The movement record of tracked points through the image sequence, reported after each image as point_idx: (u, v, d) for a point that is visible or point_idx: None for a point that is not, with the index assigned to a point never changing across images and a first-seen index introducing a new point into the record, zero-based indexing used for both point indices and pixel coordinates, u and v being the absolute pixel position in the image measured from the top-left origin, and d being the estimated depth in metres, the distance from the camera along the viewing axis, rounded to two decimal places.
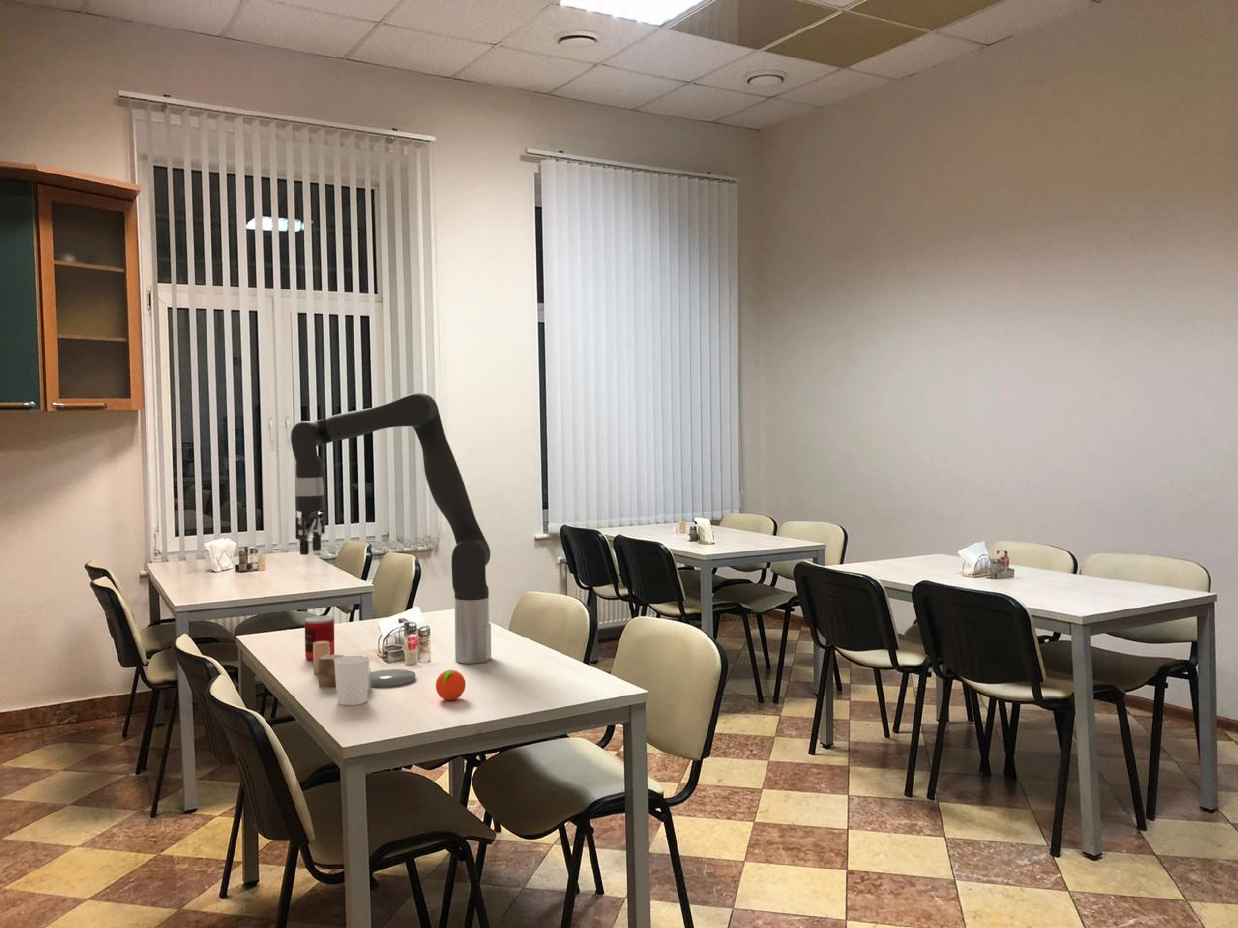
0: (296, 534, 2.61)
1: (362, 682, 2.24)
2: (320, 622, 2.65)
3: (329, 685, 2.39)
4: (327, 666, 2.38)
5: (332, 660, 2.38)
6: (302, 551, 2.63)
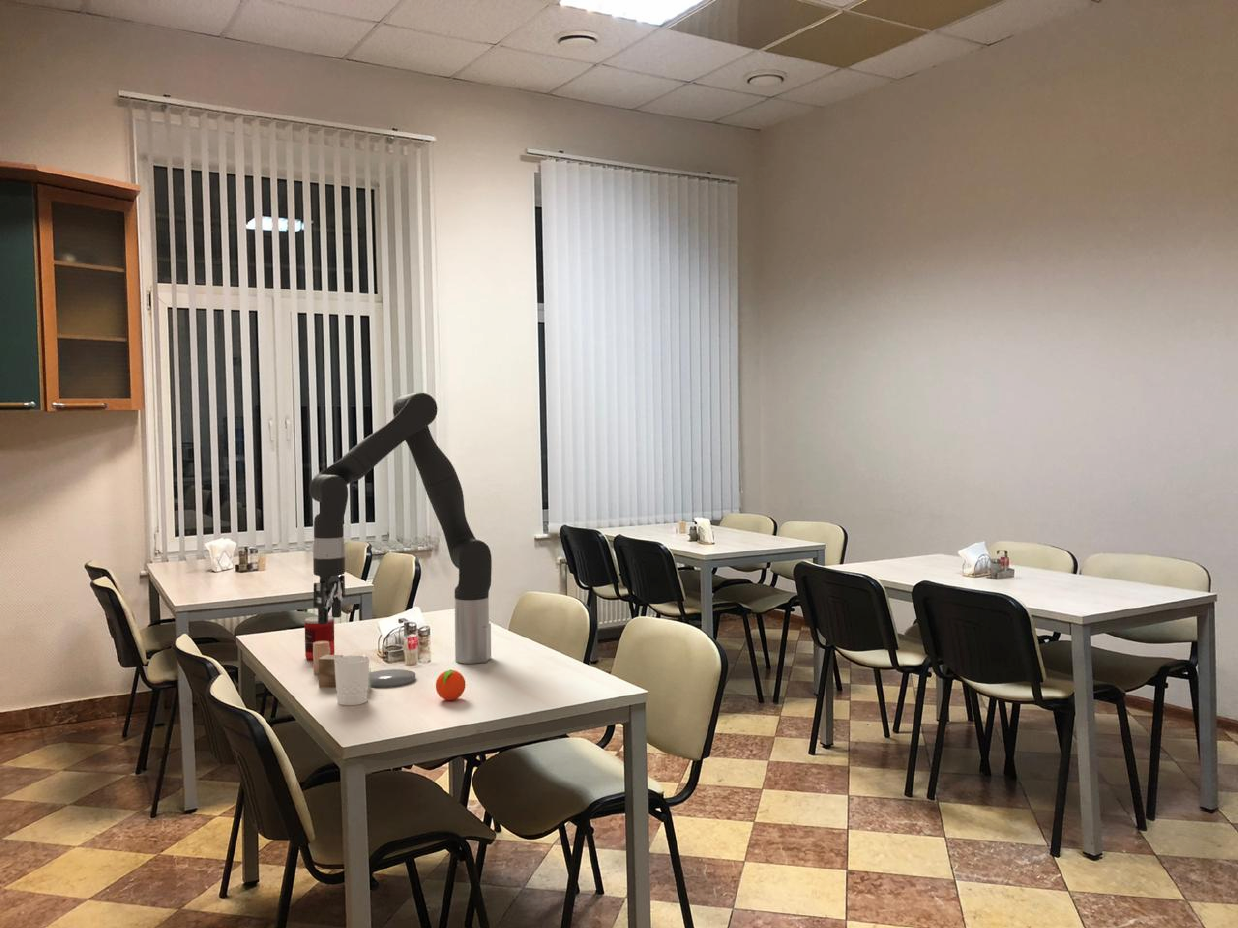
0: (314, 602, 2.33)
1: (362, 682, 2.24)
2: None
3: (329, 685, 2.39)
4: (327, 666, 2.38)
5: (332, 660, 2.38)
6: (321, 620, 2.35)
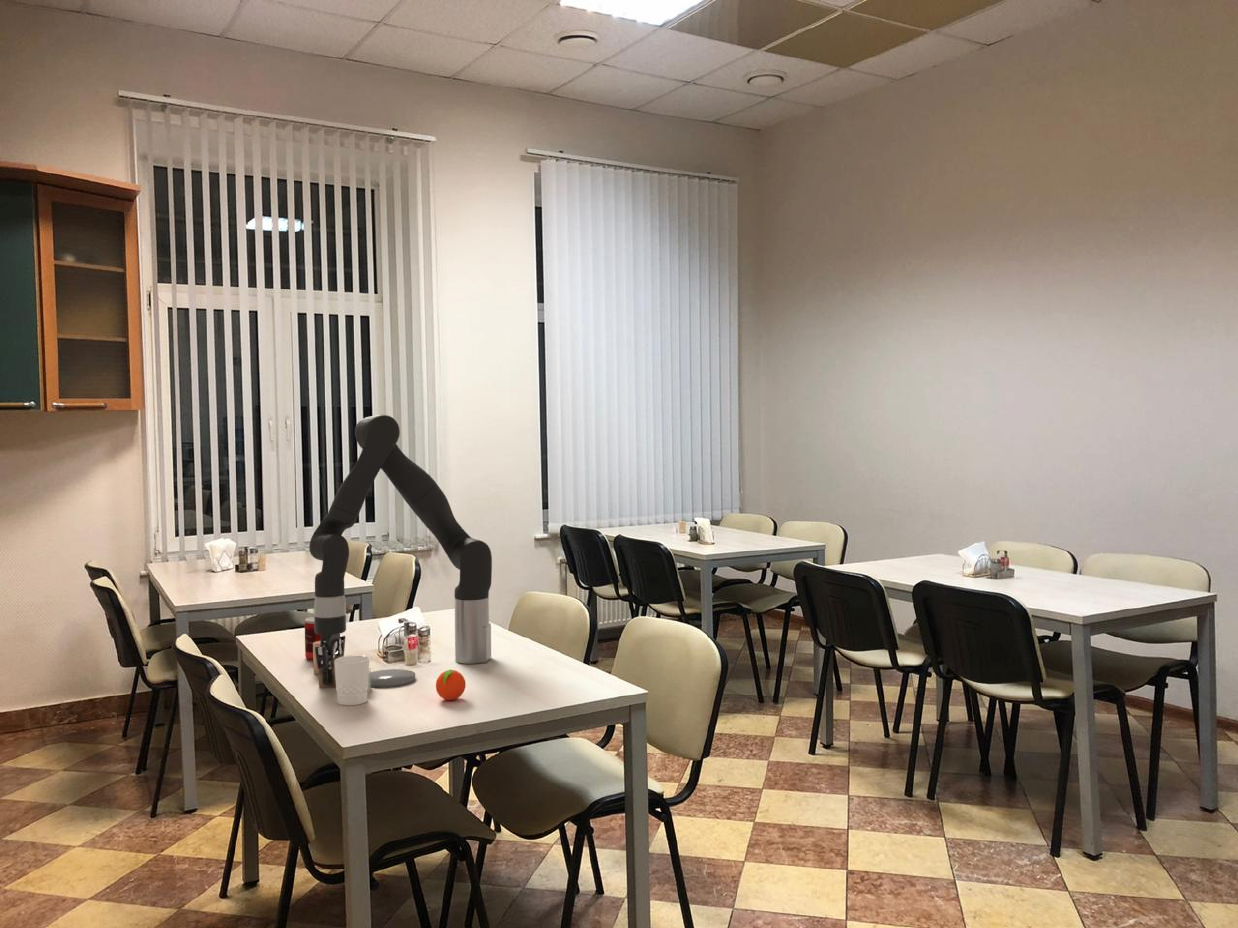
0: (318, 664, 2.35)
1: (362, 682, 2.24)
2: None
3: (329, 685, 2.39)
4: None
5: (332, 660, 2.38)
6: (325, 681, 2.37)
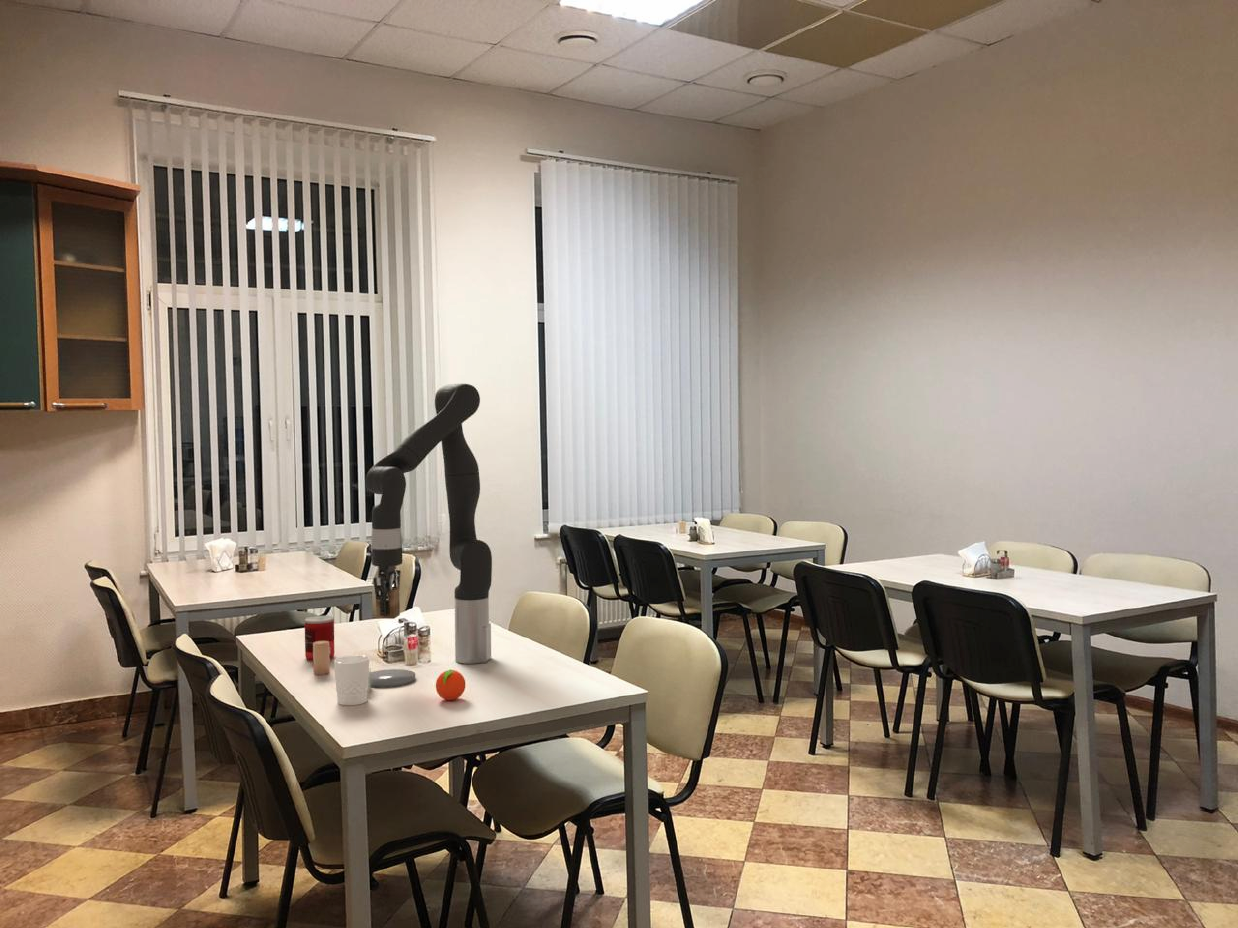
0: (376, 595, 2.39)
1: (362, 682, 2.24)
2: (320, 622, 2.65)
3: (386, 616, 2.42)
4: None
5: None
6: (383, 612, 2.41)
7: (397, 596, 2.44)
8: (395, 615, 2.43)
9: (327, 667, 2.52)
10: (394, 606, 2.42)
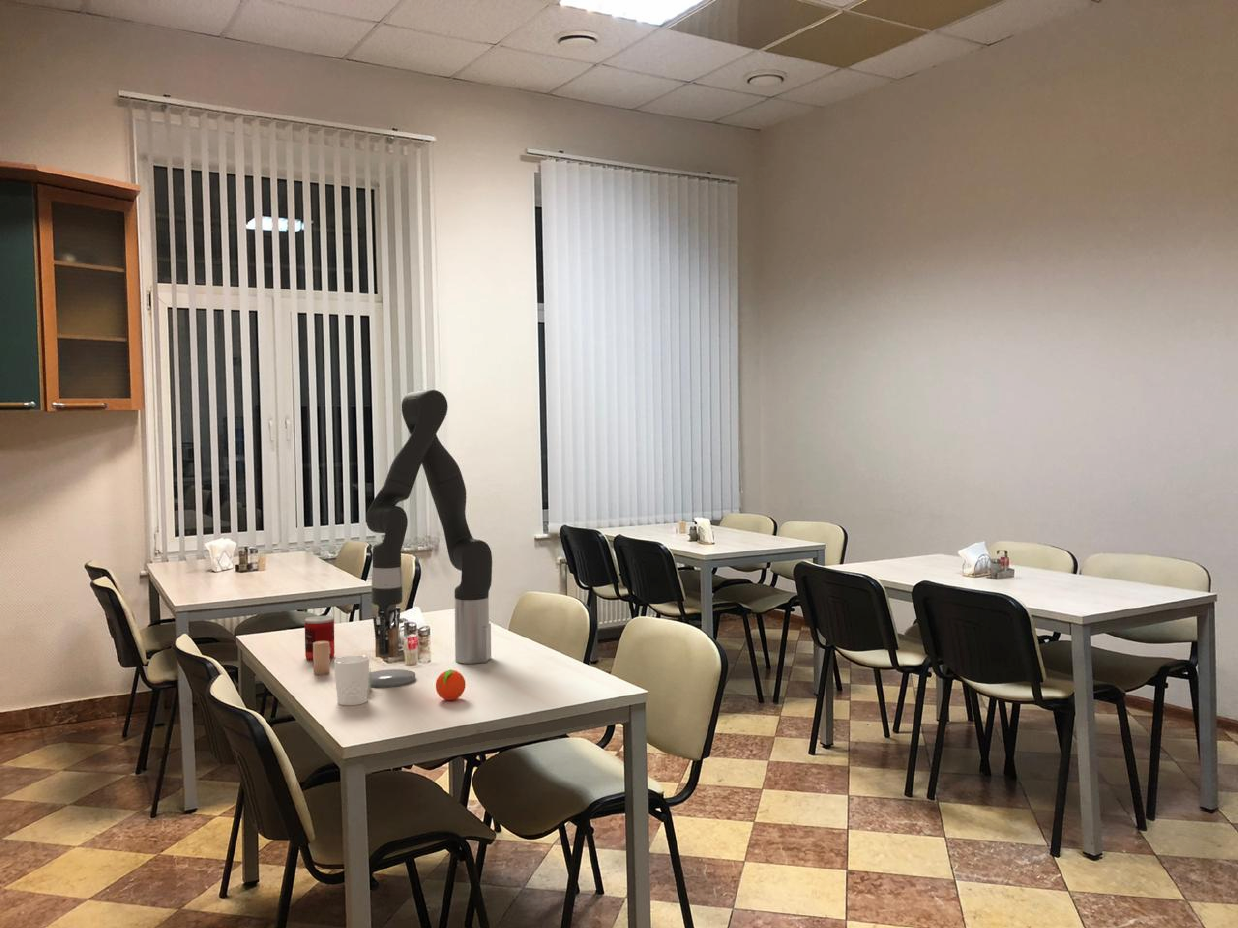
0: (376, 634, 2.39)
1: (362, 682, 2.24)
2: (320, 622, 2.65)
3: (385, 655, 2.42)
4: None
5: None
6: (382, 651, 2.41)
7: (396, 635, 2.45)
8: (394, 654, 2.43)
9: (327, 667, 2.52)
10: (393, 645, 2.42)
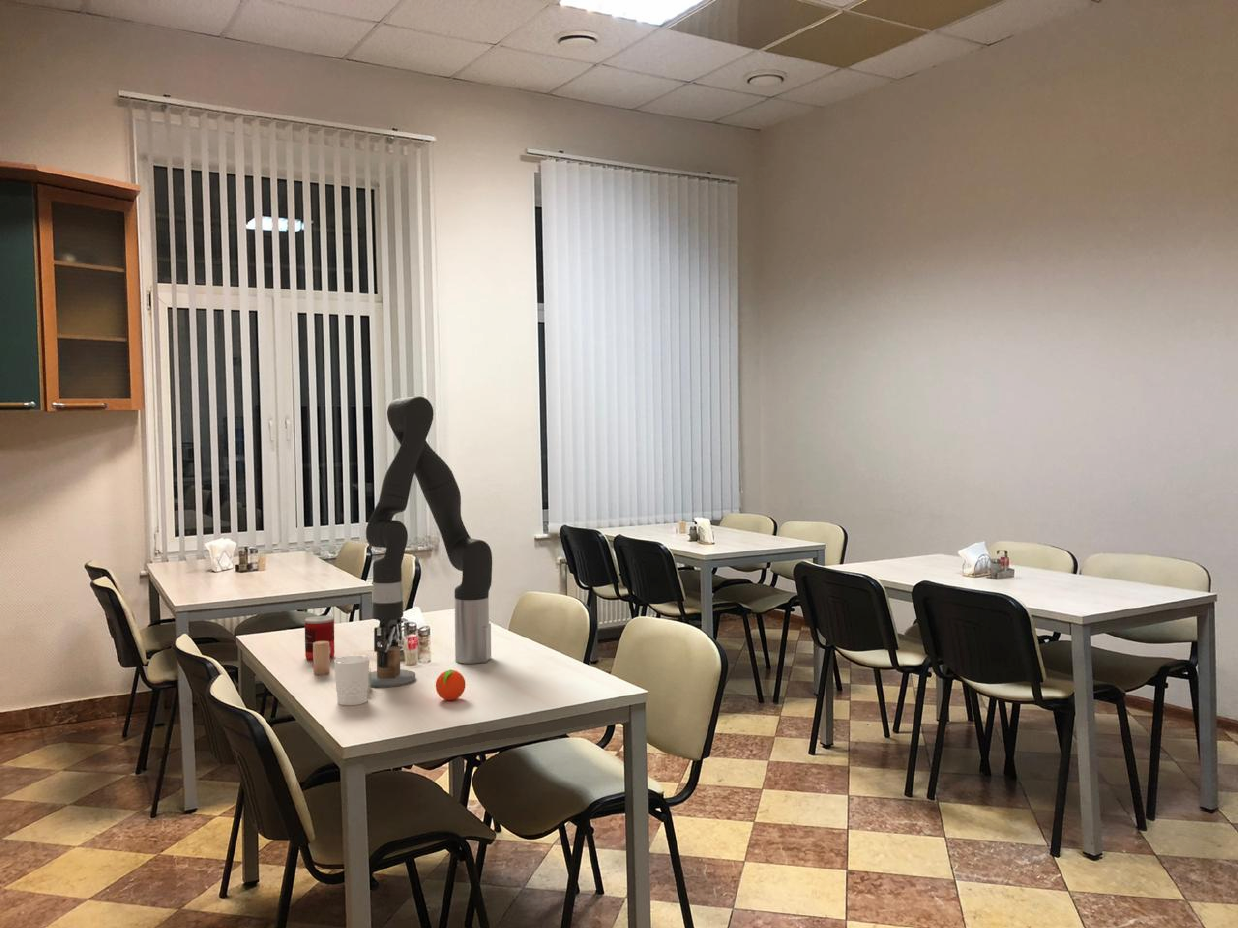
0: (375, 646, 2.37)
1: (362, 682, 2.24)
2: (320, 622, 2.65)
3: (387, 676, 2.42)
4: None
5: (390, 651, 2.42)
6: (381, 664, 2.39)
7: (398, 655, 2.45)
8: (396, 674, 2.43)
9: (327, 667, 2.52)
10: (395, 666, 2.42)
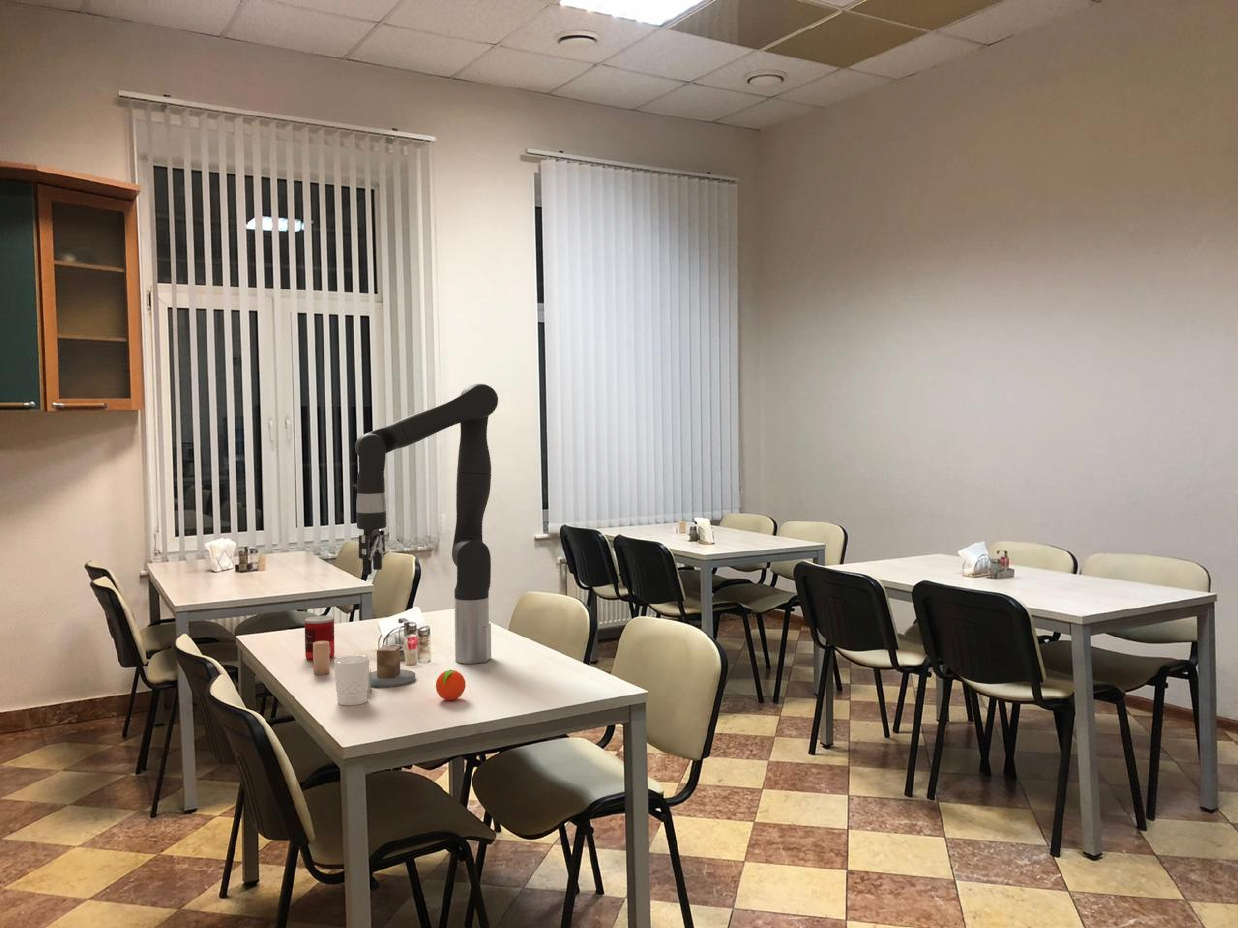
0: (359, 553, 2.47)
1: (362, 682, 2.24)
2: (320, 622, 2.65)
3: (387, 676, 2.42)
4: (385, 657, 2.42)
5: (390, 651, 2.42)
6: (365, 571, 2.49)
7: (398, 655, 2.45)
8: (396, 674, 2.43)
9: (327, 667, 2.52)
10: (395, 666, 2.42)
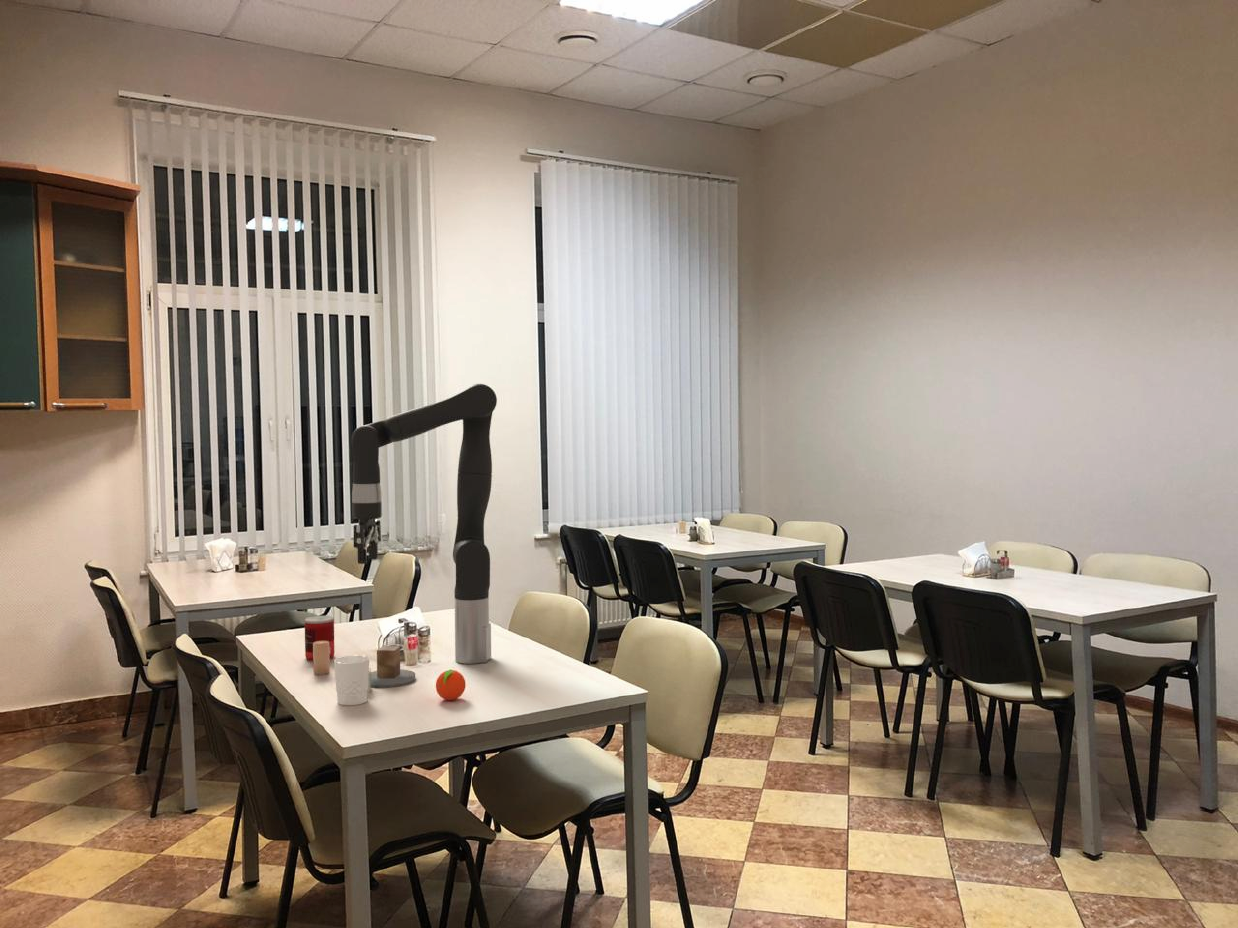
0: (354, 542, 2.51)
1: (362, 682, 2.24)
2: (320, 622, 2.65)
3: (387, 676, 2.42)
4: (385, 657, 2.42)
5: (390, 651, 2.42)
6: (360, 560, 2.53)
7: (398, 655, 2.45)
8: (396, 674, 2.43)
9: (327, 667, 2.52)
10: (395, 666, 2.42)
